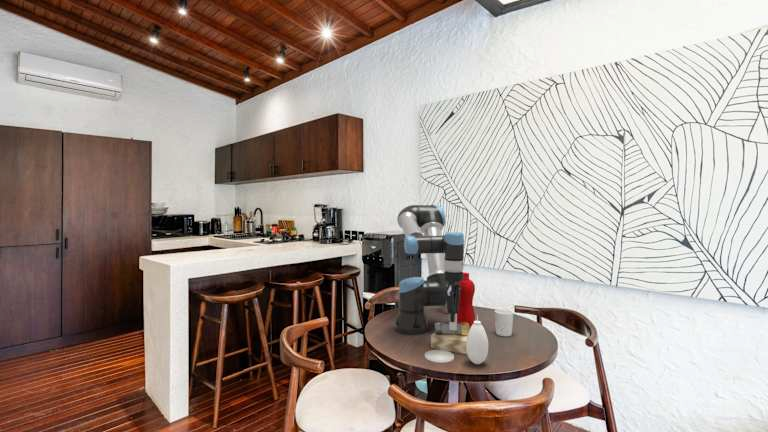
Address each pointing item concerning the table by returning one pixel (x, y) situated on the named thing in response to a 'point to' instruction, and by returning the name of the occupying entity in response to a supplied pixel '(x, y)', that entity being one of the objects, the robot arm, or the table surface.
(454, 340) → the beige long block
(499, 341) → the table surface
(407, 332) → the robot arm
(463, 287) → the red lumpy piece
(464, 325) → the lever
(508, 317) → the white cup
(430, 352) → the white round disc
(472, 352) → the sauce bottle
